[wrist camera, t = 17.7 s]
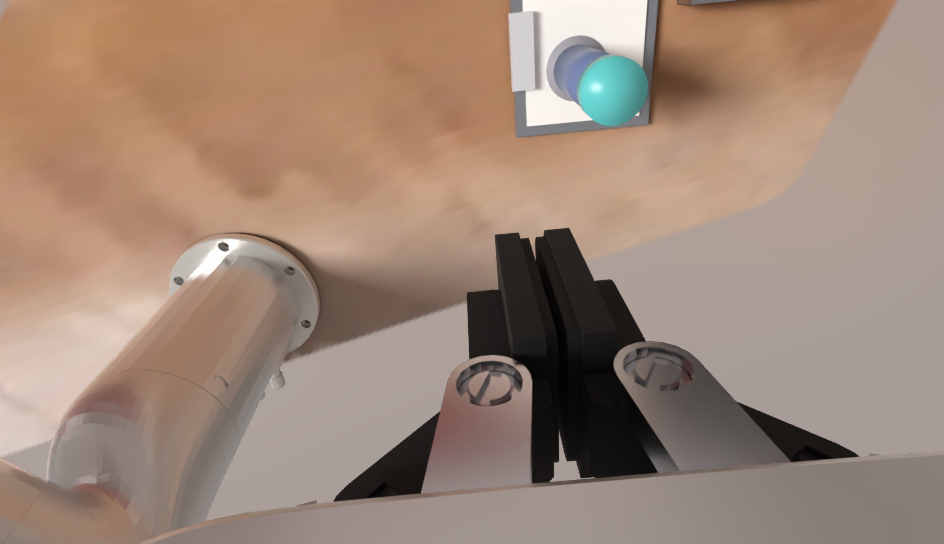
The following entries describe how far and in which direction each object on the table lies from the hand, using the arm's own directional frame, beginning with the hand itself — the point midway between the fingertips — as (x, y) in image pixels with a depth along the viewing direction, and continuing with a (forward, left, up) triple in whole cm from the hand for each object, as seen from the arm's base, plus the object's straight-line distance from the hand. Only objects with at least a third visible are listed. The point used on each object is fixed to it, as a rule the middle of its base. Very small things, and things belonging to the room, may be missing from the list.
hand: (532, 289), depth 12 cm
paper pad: (+2, -8, -29) cm, 30 cm away
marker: (0, -7, -28) cm, 29 cm away
